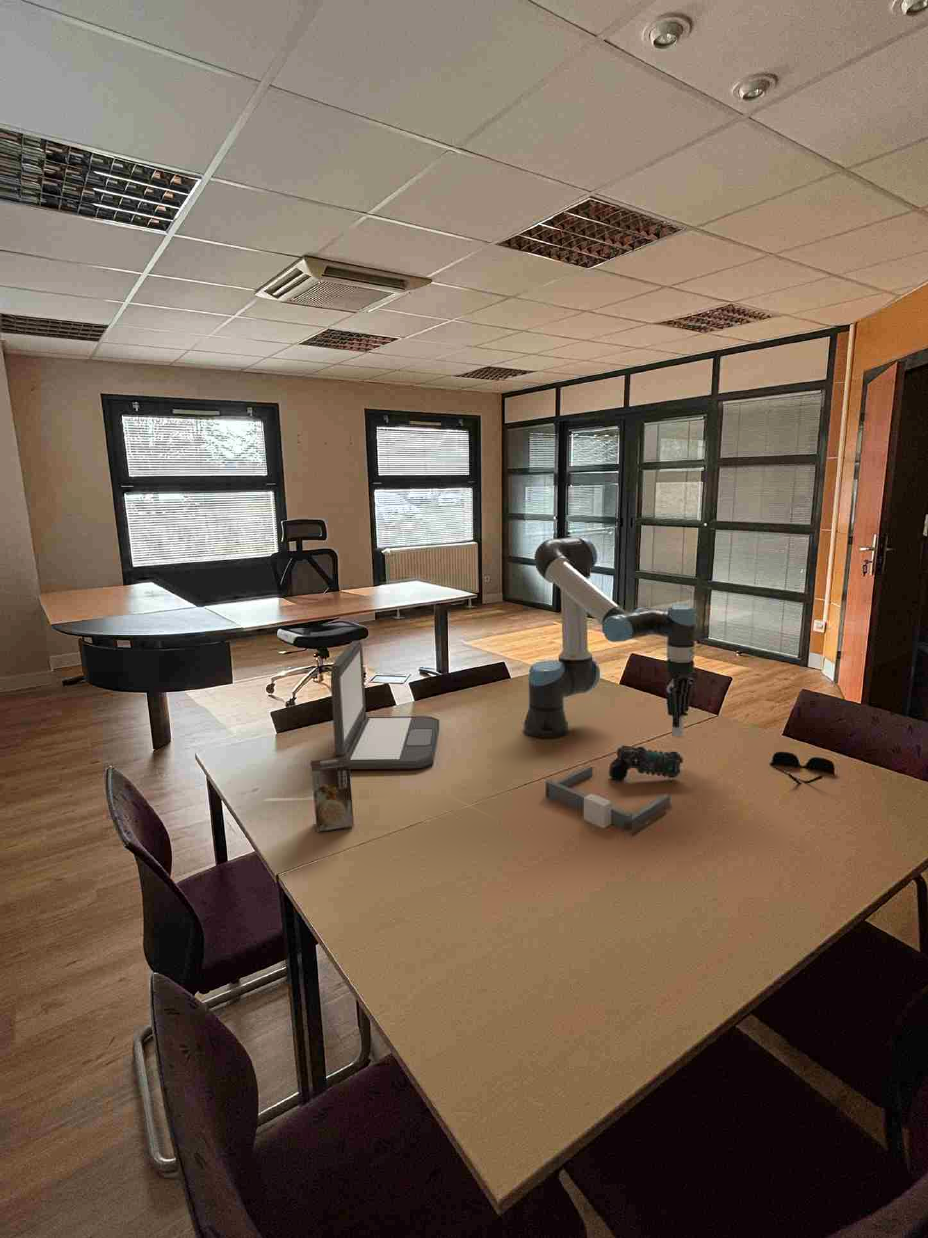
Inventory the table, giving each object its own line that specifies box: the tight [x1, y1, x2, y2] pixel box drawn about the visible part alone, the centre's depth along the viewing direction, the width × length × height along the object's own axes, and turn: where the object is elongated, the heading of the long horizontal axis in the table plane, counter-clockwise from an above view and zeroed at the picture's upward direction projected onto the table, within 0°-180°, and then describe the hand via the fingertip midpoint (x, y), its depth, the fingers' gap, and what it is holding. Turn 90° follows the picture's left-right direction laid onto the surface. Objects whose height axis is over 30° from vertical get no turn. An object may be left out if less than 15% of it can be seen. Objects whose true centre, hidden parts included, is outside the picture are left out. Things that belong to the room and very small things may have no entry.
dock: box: [545, 764, 671, 836], centre depth 163 cm, size 28×22×6 cm
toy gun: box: [608, 745, 684, 781], centre depth 176 cm, size 4×19×10 cm, turn 84°
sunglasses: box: [769, 751, 836, 785], centre depth 174 cm, size 17×14×5 cm
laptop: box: [330, 640, 440, 770], centre depth 201 cm, size 38×31×32 cm
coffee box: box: [310, 757, 355, 832], centre depth 155 cm, size 9×6×16 cm
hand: (677, 736), depth 186 cm, fingers closed
